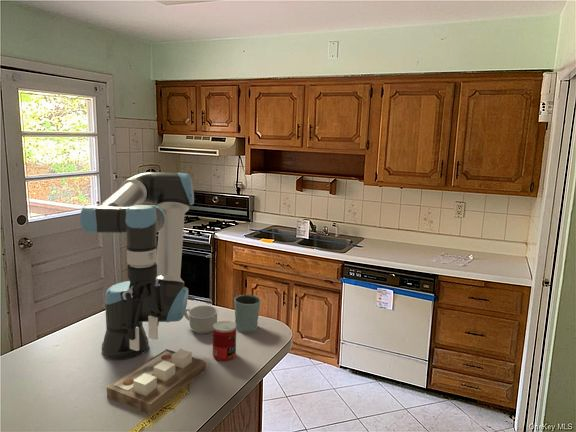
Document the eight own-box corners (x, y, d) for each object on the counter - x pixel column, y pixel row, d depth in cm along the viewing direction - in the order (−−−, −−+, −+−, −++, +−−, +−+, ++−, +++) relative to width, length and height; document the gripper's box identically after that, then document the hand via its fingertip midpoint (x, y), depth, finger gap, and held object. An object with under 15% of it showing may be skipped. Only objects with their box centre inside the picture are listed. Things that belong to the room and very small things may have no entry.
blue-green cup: (229, 325, 169) (229, 297, 167) (251, 320, 175) (252, 292, 172) (241, 336, 161) (242, 306, 158) (264, 330, 167) (265, 301, 164)
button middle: (153, 380, 127) (153, 367, 126) (163, 373, 131) (163, 360, 130) (165, 384, 125) (165, 371, 124) (175, 377, 129) (175, 364, 128)
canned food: (231, 362, 142) (232, 332, 140) (208, 359, 144) (209, 328, 141) (238, 351, 149) (239, 322, 147) (217, 348, 151) (217, 319, 149)
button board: (107, 396, 121) (106, 386, 121) (166, 357, 144) (166, 348, 143) (150, 414, 115) (150, 403, 114) (205, 369, 137) (205, 360, 136)
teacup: (223, 329, 166) (223, 309, 164) (203, 339, 157) (203, 319, 155) (196, 319, 173) (197, 301, 172) (176, 329, 164) (176, 309, 163)
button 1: (133, 394, 120) (133, 380, 119) (144, 386, 124) (144, 372, 123) (145, 399, 118) (145, 385, 117) (156, 391, 122) (156, 377, 121)
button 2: (171, 367, 134) (171, 355, 133) (180, 361, 138) (180, 348, 137) (182, 371, 132) (182, 358, 131) (191, 365, 136) (191, 352, 135)
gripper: (124, 276, 103) (127, 363, 108) (177, 257, 121) (177, 332, 125) (102, 271, 107) (106, 355, 111) (156, 253, 124) (158, 327, 128)
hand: (144, 343), depth 118 cm, fingers open, 6 cm apart
